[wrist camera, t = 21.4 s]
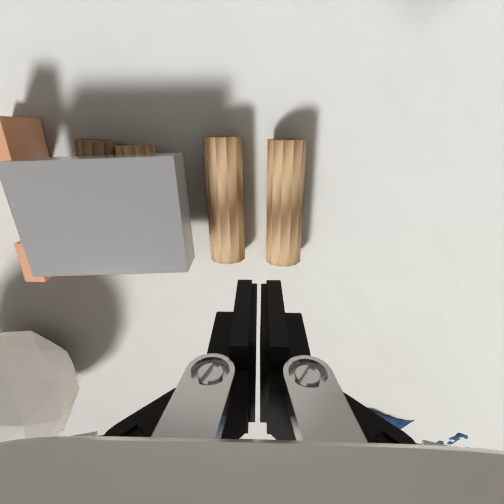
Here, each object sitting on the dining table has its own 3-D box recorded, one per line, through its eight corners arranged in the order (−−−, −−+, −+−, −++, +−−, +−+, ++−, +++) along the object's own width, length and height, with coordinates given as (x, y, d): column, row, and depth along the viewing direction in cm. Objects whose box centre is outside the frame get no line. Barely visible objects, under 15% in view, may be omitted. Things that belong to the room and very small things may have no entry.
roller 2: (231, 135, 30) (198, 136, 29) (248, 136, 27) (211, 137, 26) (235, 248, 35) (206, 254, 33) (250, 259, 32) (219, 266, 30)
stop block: (11, 117, 29) (-36, 115, 25) (40, 117, 29) (-2, 116, 25) (49, 261, 35) (17, 281, 30) (73, 261, 35) (45, 282, 30)
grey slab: (25, 158, 27) (-6, 162, 24) (182, 152, 27) (173, 155, 24) (56, 261, 31) (33, 277, 28) (194, 256, 31) (187, 272, 28)
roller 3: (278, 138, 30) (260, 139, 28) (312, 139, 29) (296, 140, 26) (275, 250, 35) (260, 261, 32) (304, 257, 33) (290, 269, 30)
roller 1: (89, 138, 30) (66, 139, 27) (124, 141, 30) (105, 143, 27) (100, 250, 35) (82, 263, 31) (130, 254, 35) (115, 267, 31)
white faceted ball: (89, 345, 46) (79, 465, 38) (-39, 356, 40) (-82, 499, 32) (78, 304, 35) (61, 461, 27) (-100, 312, 29) (-187, 511, 22)
